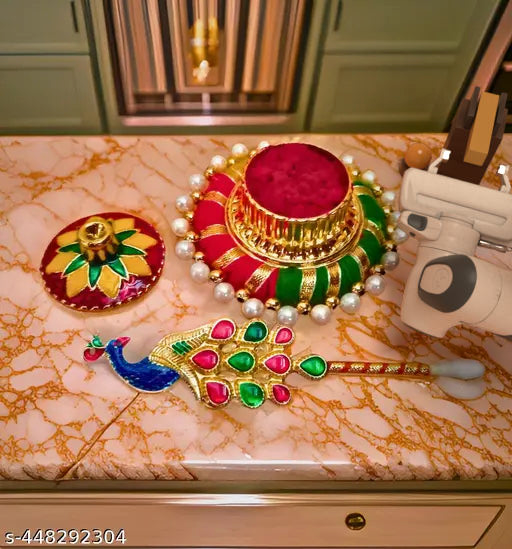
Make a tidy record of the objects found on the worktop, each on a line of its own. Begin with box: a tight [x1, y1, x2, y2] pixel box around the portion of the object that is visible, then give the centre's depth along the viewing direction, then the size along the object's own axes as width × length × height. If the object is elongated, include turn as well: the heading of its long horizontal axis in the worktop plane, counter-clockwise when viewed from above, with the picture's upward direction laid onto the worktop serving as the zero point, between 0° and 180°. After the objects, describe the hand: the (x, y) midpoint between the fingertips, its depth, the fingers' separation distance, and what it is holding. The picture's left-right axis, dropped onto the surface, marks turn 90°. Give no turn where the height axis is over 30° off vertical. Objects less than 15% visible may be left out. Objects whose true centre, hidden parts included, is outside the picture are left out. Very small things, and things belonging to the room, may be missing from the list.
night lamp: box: [398, 142, 433, 178], centre depth 123 cm, size 6×6×7 cm
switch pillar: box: [436, 85, 509, 185], centre depth 109 cm, size 8×8×27 cm
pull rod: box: [464, 91, 500, 166], centre depth 97 cm, size 15×3×3 cm, turn 160°
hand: (474, 157), depth 94 cm, fingers open, 8 cm apart
